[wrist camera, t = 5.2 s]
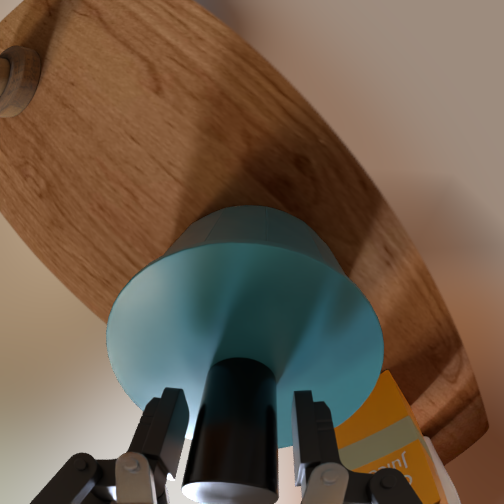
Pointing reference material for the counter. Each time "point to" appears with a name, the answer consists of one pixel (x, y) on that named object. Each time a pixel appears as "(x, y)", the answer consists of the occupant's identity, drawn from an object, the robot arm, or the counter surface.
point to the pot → (256, 230)
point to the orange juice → (389, 441)
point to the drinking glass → (443, 475)
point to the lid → (243, 353)
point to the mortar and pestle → (17, 79)
